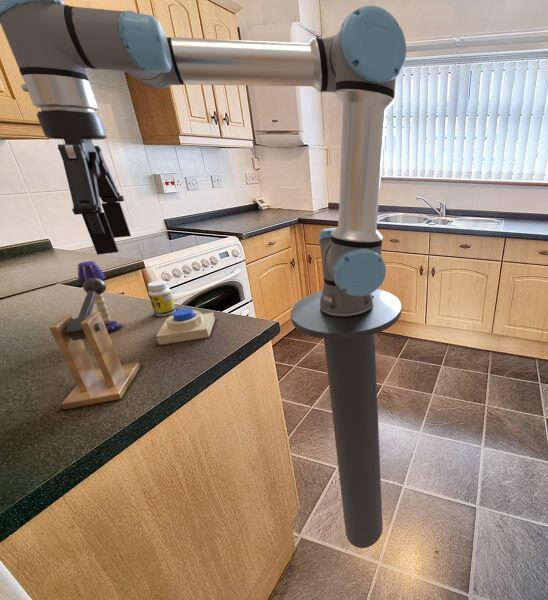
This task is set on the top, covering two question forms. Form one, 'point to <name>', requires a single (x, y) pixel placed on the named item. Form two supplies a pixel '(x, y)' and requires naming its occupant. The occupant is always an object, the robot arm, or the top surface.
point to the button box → (186, 328)
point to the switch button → (183, 314)
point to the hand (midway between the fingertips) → (115, 244)
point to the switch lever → (85, 307)
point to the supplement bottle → (161, 298)
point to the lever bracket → (89, 380)
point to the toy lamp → (93, 271)
